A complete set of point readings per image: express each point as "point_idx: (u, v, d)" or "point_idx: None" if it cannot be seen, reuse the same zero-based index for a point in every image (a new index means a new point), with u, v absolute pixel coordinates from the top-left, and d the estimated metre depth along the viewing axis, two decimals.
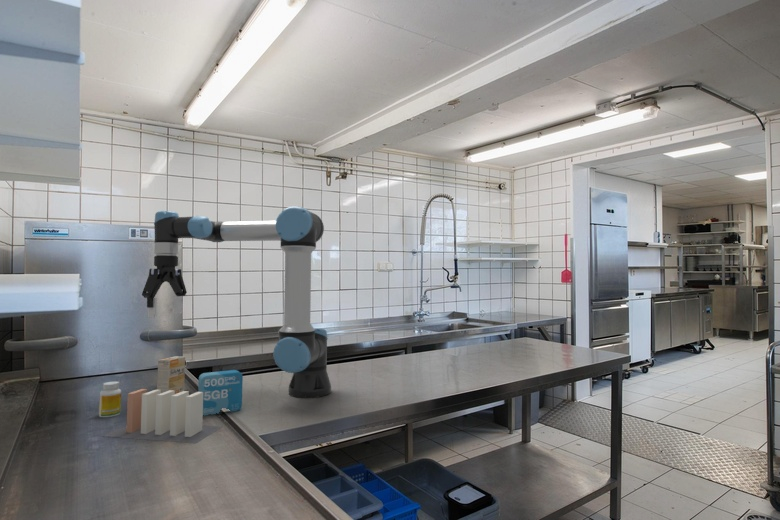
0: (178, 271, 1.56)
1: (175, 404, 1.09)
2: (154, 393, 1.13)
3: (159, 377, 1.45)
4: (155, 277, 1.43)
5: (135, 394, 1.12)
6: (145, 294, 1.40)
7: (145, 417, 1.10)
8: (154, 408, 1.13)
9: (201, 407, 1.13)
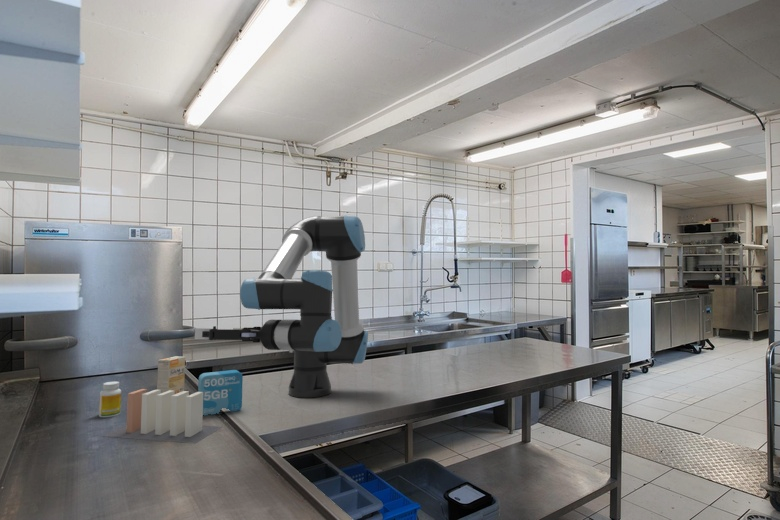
0: None
1: (175, 404, 1.09)
2: (154, 393, 1.13)
3: (159, 377, 1.45)
4: None
5: (135, 394, 1.12)
6: None
7: (145, 417, 1.10)
8: (154, 408, 1.13)
9: (201, 407, 1.13)
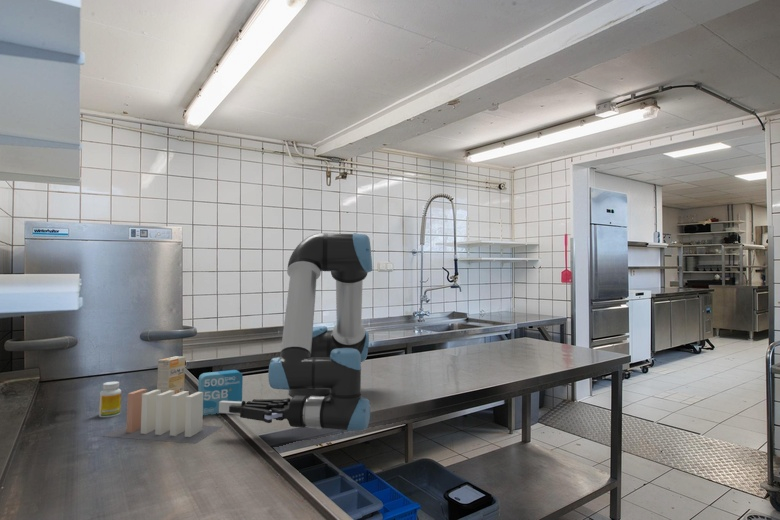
0: None
1: (175, 404, 1.09)
2: (154, 393, 1.13)
3: (159, 377, 1.45)
4: (278, 399, 1.12)
5: (135, 394, 1.12)
6: None
7: (145, 417, 1.10)
8: (154, 408, 1.13)
9: (201, 407, 1.13)
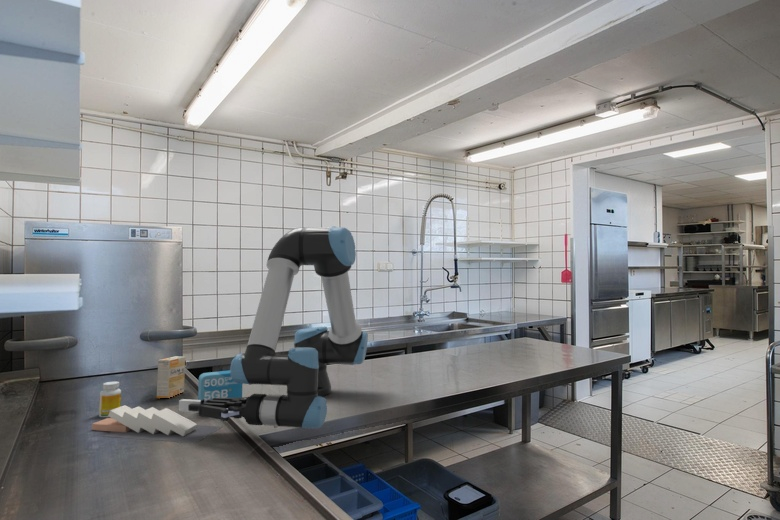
0: None
1: (145, 417, 1.10)
2: (119, 408, 1.15)
3: (159, 377, 1.45)
4: (238, 398, 1.14)
5: (96, 422, 1.14)
6: None
7: (127, 421, 1.11)
8: None
9: (176, 414, 1.14)
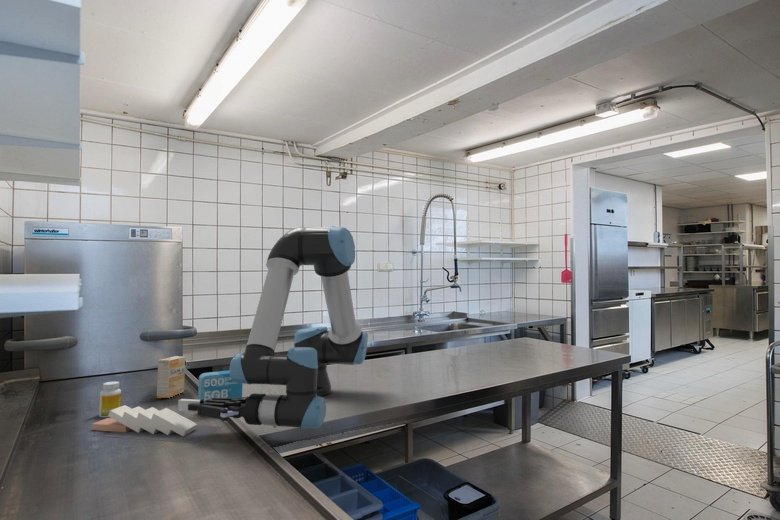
0: None
1: (145, 417, 1.10)
2: (119, 408, 1.15)
3: (159, 377, 1.45)
4: (238, 397, 1.14)
5: (96, 422, 1.14)
6: None
7: (127, 421, 1.11)
8: None
9: (176, 414, 1.14)
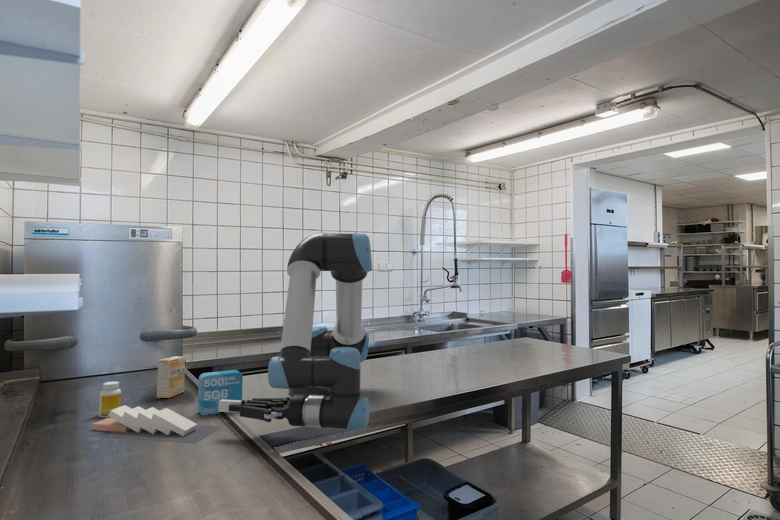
0: None
1: (145, 417, 1.10)
2: (119, 408, 1.15)
3: (159, 377, 1.45)
4: (278, 398, 1.12)
5: (96, 422, 1.14)
6: None
7: (127, 421, 1.11)
8: None
9: (176, 414, 1.14)
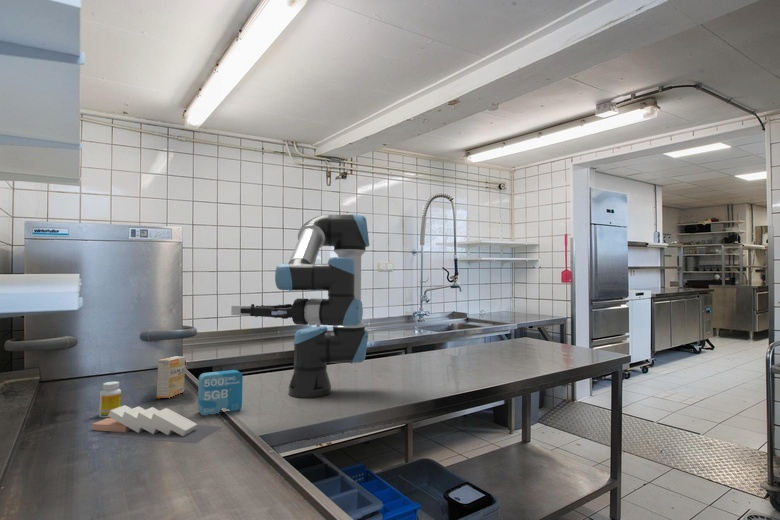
0: None
1: (145, 417, 1.10)
2: (119, 408, 1.15)
3: (159, 377, 1.45)
4: None
5: (96, 422, 1.14)
6: None
7: (127, 421, 1.11)
8: None
9: (176, 414, 1.14)
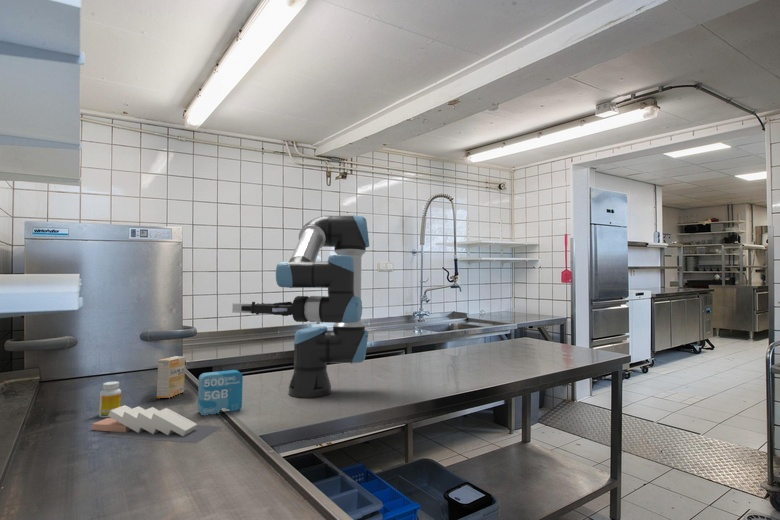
0: None
1: (145, 417, 1.10)
2: (119, 408, 1.15)
3: (159, 377, 1.45)
4: None
5: (96, 422, 1.14)
6: None
7: (127, 421, 1.11)
8: None
9: (176, 414, 1.14)
